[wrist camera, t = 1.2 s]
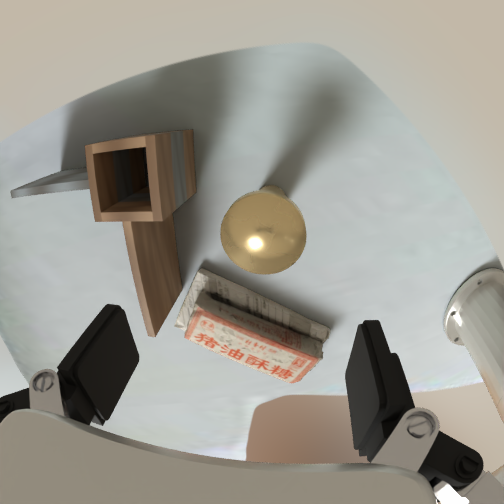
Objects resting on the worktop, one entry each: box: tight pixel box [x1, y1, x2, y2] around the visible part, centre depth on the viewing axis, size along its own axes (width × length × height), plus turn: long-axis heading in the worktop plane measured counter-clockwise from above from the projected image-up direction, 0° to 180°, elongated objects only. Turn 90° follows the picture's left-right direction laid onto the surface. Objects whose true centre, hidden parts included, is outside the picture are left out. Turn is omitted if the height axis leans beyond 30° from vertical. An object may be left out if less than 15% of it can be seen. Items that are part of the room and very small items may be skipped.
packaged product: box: [175, 268, 330, 383], centre depth 35 cm, size 18×5×10 cm
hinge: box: [11, 129, 196, 337], centre depth 28 cm, size 19×19×9 cm
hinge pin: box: [220, 185, 306, 274], centre depth 25 cm, size 6×6×10 cm
